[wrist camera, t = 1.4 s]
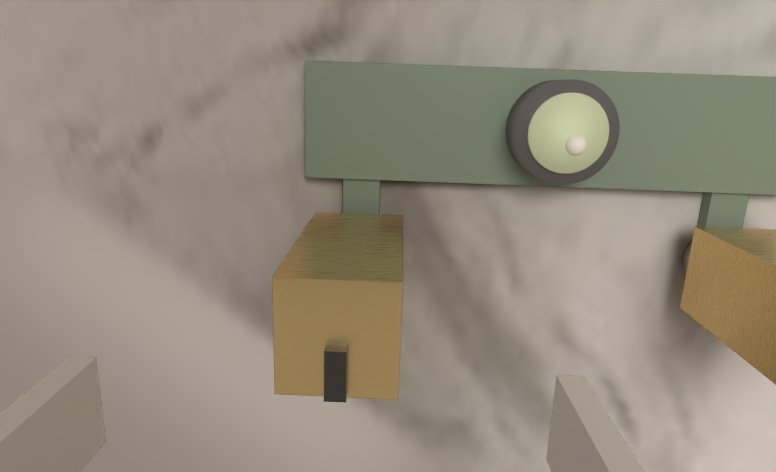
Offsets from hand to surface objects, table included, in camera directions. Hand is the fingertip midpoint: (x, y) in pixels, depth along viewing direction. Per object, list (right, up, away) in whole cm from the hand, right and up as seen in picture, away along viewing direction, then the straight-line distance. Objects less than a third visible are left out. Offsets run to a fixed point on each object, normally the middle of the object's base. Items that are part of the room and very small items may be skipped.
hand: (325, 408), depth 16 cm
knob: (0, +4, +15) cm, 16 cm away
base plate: (+10, +8, +15) cm, 20 cm away
